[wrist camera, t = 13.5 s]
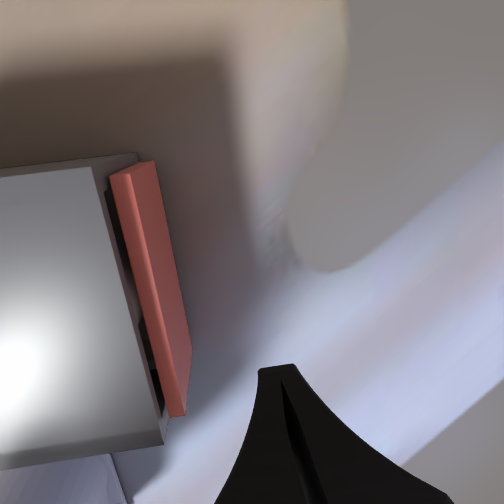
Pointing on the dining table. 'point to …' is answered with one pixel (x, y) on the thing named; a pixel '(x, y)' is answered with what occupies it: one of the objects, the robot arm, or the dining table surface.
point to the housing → (69, 321)
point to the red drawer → (153, 278)
